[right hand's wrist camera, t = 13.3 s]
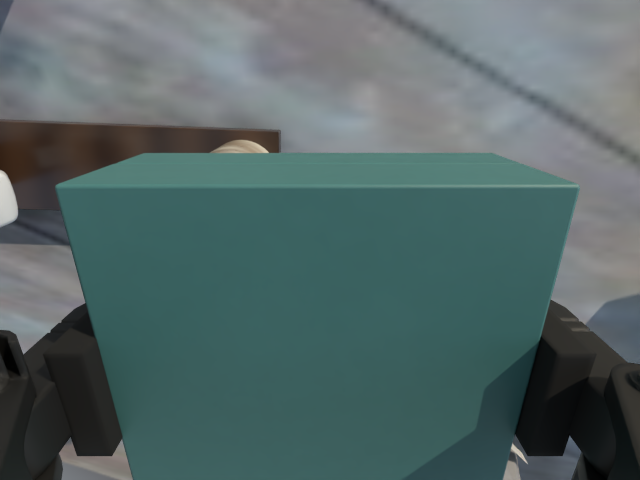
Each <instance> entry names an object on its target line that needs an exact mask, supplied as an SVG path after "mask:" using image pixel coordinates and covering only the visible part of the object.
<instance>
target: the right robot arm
mask: <svg viewBox="0 0 640 480" xmlns="http://www.w3.org/2000/svg"><path fill="white" fill-rule="evenodd" d="M515 434H516V436H517V438H518V440H519V441H520V443H521V445H522V447H523V449H524V450H525V452H526V454H527V456H563V453H564V450H565V447H566V444H567V441H568V438H569V435H570V436H571V438H572V439H573V440H574V442H575V443H576V445H577V446H578V447H579V449H580V450H581V451H582V452H581V455H580V458H579V460H578V463H577V466H576V469H575V472H574V474H573V477H572V480H640V364H634V363H627V362H626V361H625V360H624V359H623V358H622V357H621V356H619V355H618V354H617V353H616V352H615V351H614V350H613V349H612V348H610V347H609V346H608V345H607V344H606V343H605V342H604V341H603V340H601V339H600V338H599V337H598V336H597V335H596V334H595V333H594V332H590V329H589V328H588V327H587V326H586V325H584V324H583V323H582V322H579V319H578V318H577V317H575V316H574V315H573V314H572V313H571V312H570V311H569V310H568V309H566V308H565V307H563V306H561V305H560V304H558V303H556V302H554V301H552V300H550V303H549V307H548V311H547V315H546V319H545V322H544V326H543V330H542V334H541V337H540V341H539V345H538V349H537V353H536V356H535V360H534V364H533V368H532V372H531V375H530V379H529V383H528V387H527V390H526V394H525V398H524V402H523V406H522V409H521V413H520V417H519V421H518V425H517V428H516V432H515ZM70 437H71V439H72V442H73V445H74V448H75V451H76V454H77V456H112V455H113V453H114V452H115V450H116V448H117V446H118V445H119V443H120V441H121V439H122V438H123V436H122V433H121V429H120V425H119V421H118V418H117V414H116V410H115V407H114V403H113V399H112V395H111V392H110V388H109V384H108V380H107V377H106V373H105V369H104V365H103V362H102V358H101V354H100V350H99V347H98V343H97V339H96V338H95V336H94V332H93V328H92V325H91V321H90V317H89V314H88V310H87V306H86V303H85V304H83V305H81V306H79V307H77V308H76V309H74V310H73V311H72V312H71V313H70V314H68V315H67V316H66V317H65V318H64V319H63V320H62V322H61V323H58V324H57V325H56V326H55V327H54V328H53V329H52V330H51V332H50V333H47V334H46V335H45V336H44V337H43V338H42V339H40V340H39V341H38V342H37V343H36V344H35V345H34V346H33V347H31V348H30V349H29V350H28V351H27V352H26V353H25V354H24V355H23V353H22V350H21V347H20V344H19V342H18V339H17V336H16V334H14V333H12V332H11V331H6V330H0V480H61V478H62V471H63V467H62V460H61V458H60V455H59V452H60V451H61V449H62V448H63V446H64V445H65V444H66V442H67V441H68V439H69V438H70ZM516 453H517V454H518V455H519V456H520V457H521V458H522V459H523V460H524V461H525V462H526V463H527V461H526V460H525V458H524V456H523V454H522V453H521V452H520V451H519V450H518V449H517V448H516V447H515V445H514V443H512V447H511V451H510V455H509V459H508V462H507V466H506V470H505V474H504V478H503V480H521V479H520V473H519V467H518V461H517V455H516ZM527 464H528V463H527Z"/></svg>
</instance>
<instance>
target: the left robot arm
mask: <svg viewBox="0 0 640 480" xmlns="http://www.w3.org/2000/svg"><path fill="white" fill-rule="evenodd" d="M17 217H18V206H17V201H16V196H15V193H14V190H13V187H12V184H11V182H10V180H9V178H8V176H7V174H6V173H5V172H4V171H2V170H0V227H3V226H5V225H8V224H10V223H12V222H14V221H15V220H16V219H17Z"/></svg>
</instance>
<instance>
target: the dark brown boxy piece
mask: <svg viewBox="0 0 640 480" xmlns="http://www.w3.org/2000/svg"><path fill="white" fill-rule="evenodd" d="M143 153H281V131H280V130H266V129H239V128H213V127H186V126H160V125H133V124H107V123H81V122H54V121H28V120H1V119H0V170H2V171H4V172H5V173H6V174H7V176H8V178H9V180H10V182H11V184H12V187H13V190H14V193H15V196H16V201H17V206H18V209H35V210H61V209H60V206H59V202H58V198H57V194H56V191H55V186H56V185H57V184H59V183H62V182H65V181H67V180H70V179H73V178H76V177H79V176H81V175H84V174H87V173H90V172H92V171H95V170H98V169H101V168H104V167H106V166H109V165H112V164H116V163H118V162H121V161H124V160H126V159H129V158H132V157H135V156H137V155H140V154H143Z"/></svg>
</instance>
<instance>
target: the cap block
mask: <svg viewBox="0 0 640 480" xmlns="http://www.w3.org/2000/svg"><path fill="white" fill-rule="evenodd" d="M579 190H580V186H579V185H578V184H576V183H573V182H570V181H568V180H565V179H562V178H559V177H557V176H554V175H551V174H548V173H546V172H543V171H540V170H537V169H535V168H532V167H529V166H526V165H524V164H520V163H518V162H515V161H512V160H509V159H507V158H504V157H501V156H499V155H496V154H493V153H143V154H140V155H137V156H135V157H132V158H129V159H126V160H124V161H121V162H118V163H116V164H112V165H109V166H106V167H104V168H101V169H98V170H95V171H92V172H90V173H87V174H84V175H81V176H79V177H76V178H73V179H70V180H67V181H65V182H62V183H59V184H57V185H56V186H55V191H56V194H57V198H58V202H59V206H60V209H61V213H62V217H63V221H64V224H65V228H66V232H67V235H68V239H69V243H70V247H71V250H72V254H73V258H74V261H75V265H76V269H77V273H78V276H79V280H80V284H81V288H82V291H83V295H84V299H85V302H86V306H87V310H88V314H89V317H90V321H91V325H92V328H93V332H94V336H95V338H96V339H97V343H98V347H99V350H100V354H101V358H102V362H103V365H104V369H105V373H106V377H107V380H108V384H109V388H110V392H111V395H112V399H113V403H114V407H115V410H116V414H117V418H118V421H119V425H120V429H121V433H122V436H123V438H122V440H123V444H124V448H125V451H126V455H127V459H128V463H129V466H130V470H131V474H132V477H133V480H503V478H504V474H505V470H506V466H507V462H508V459H509V455H510V451H511V447H512V443H513V440H514V436H515V432H516V428H517V425H518V421H519V417H520V413H521V409H522V406H523V402H524V398H525V394H526V390H527V387H528V383H529V379H530V375H531V372H532V368H533V364H534V360H535V356H536V353H537V349H538V345H539V341H540V337H541V334H542V330H543V326H544V322H545V319H546V315H547V311H548V307H549V303H550V300H551V296H552V292H553V288H554V284H555V281H556V277H557V273H558V269H559V266H560V262H561V258H562V254H563V250H564V247H565V243H566V239H567V235H568V231H569V228H570V224H571V220H572V216H573V212H574V209H575V205H576V201H577V197H578V194H579Z"/></svg>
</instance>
